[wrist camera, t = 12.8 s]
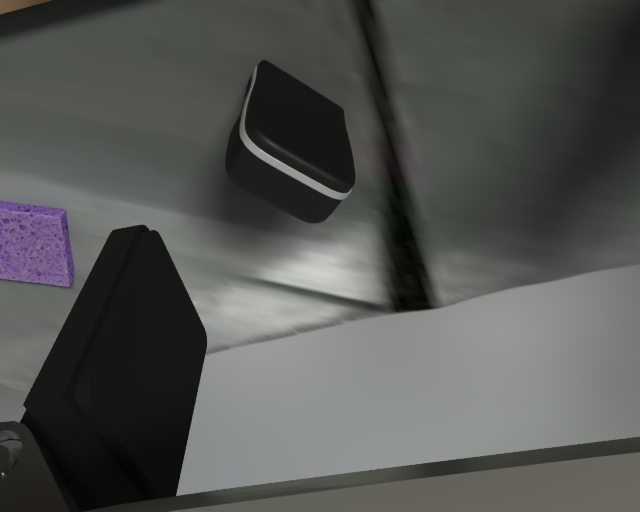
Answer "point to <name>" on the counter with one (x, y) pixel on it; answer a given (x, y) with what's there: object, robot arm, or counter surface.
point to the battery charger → (290, 146)
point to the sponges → (35, 244)
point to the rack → (17, 4)
